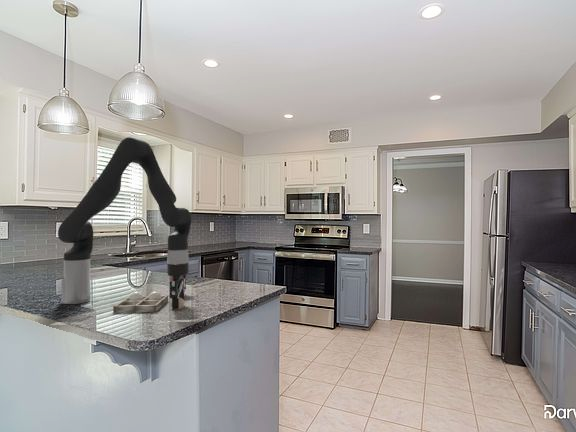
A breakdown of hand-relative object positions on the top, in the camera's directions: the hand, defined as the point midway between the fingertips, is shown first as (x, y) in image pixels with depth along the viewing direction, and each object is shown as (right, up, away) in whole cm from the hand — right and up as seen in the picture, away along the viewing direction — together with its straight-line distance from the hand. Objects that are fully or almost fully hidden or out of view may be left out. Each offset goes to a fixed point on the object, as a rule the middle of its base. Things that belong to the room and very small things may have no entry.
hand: (178, 305), depth 125 cm
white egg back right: (-11, -1, +6) cm, 13 cm away
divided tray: (-14, -2, +2) cm, 15 cm away
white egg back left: (-18, -1, +6) cm, 19 cm away
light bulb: (-7, -2, +22) cm, 23 cm away
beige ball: (0, -2, 0) cm, 2 cm away
